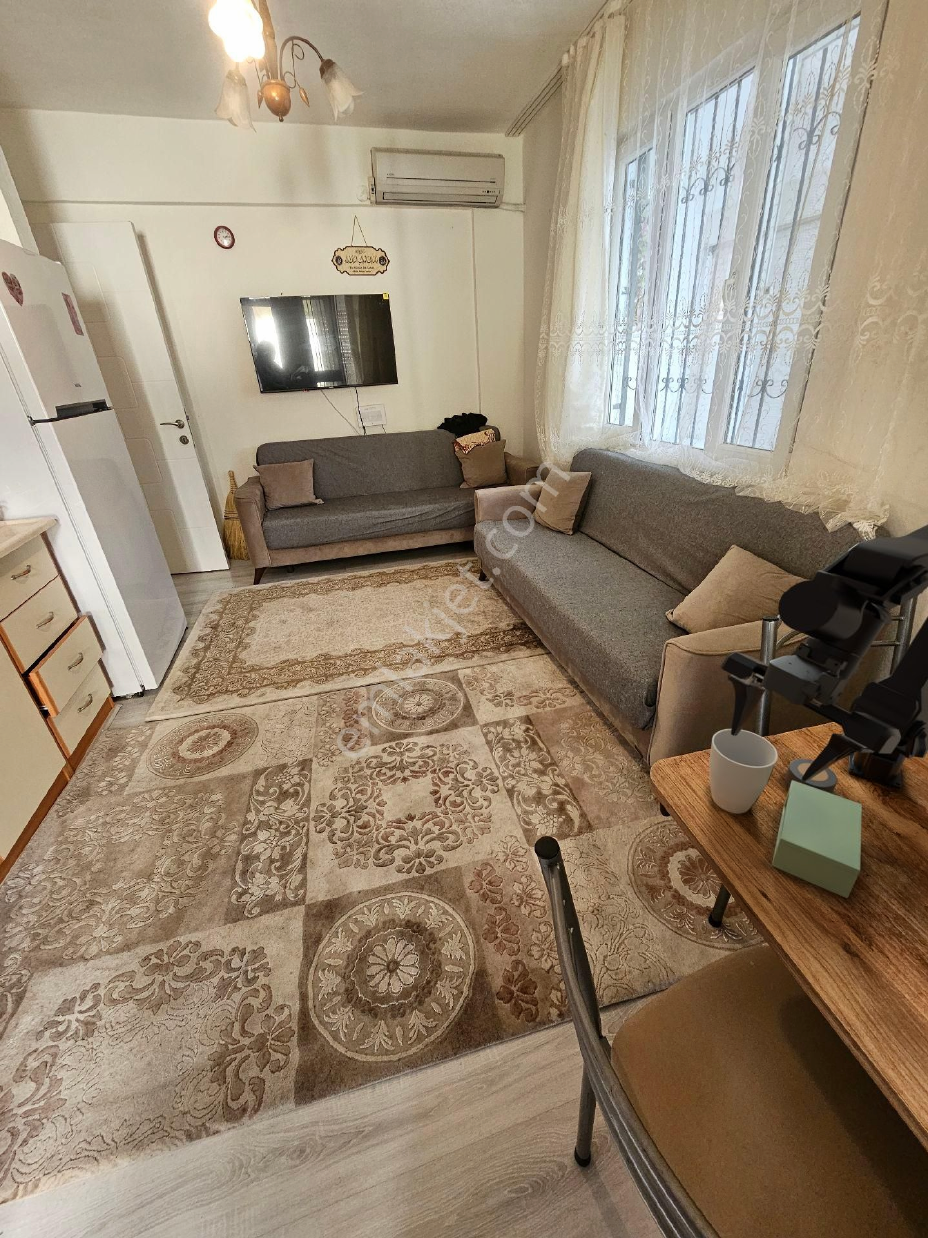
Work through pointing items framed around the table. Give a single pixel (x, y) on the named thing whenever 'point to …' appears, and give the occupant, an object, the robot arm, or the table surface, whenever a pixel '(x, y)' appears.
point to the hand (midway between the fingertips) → (766, 756)
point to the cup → (739, 769)
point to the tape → (821, 781)
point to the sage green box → (820, 838)
